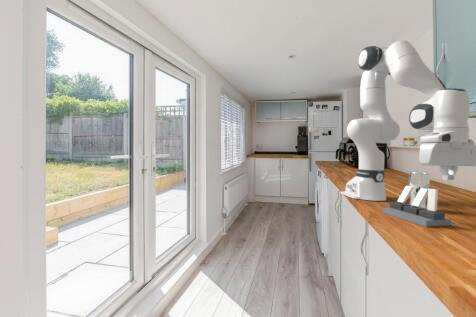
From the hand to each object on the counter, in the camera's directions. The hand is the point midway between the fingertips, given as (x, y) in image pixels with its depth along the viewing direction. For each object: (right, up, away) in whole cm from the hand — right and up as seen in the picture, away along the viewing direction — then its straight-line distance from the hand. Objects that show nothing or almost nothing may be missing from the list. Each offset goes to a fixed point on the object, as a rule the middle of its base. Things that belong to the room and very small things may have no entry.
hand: (448, 179), depth 82 cm
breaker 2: (-7, -10, +5) cm, 13 cm away
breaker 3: (-6, -10, 0) cm, 12 cm away
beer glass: (+5, -14, +21) cm, 25 cm away
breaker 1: (-8, -10, +11) cm, 17 cm away
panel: (-7, -14, +6) cm, 17 cm away
